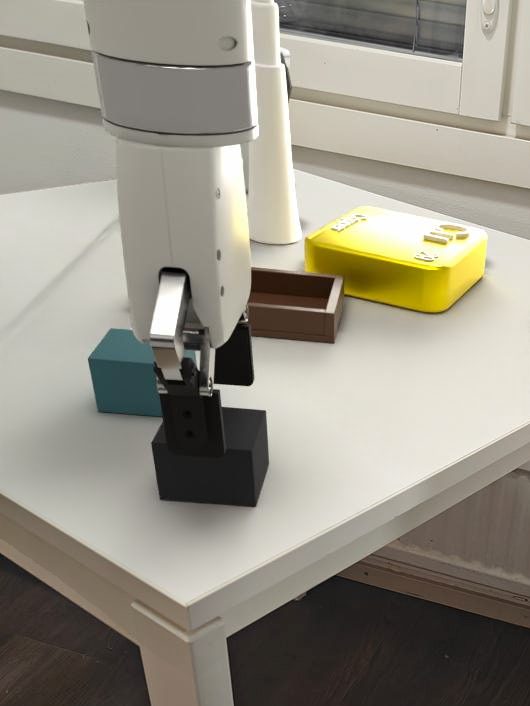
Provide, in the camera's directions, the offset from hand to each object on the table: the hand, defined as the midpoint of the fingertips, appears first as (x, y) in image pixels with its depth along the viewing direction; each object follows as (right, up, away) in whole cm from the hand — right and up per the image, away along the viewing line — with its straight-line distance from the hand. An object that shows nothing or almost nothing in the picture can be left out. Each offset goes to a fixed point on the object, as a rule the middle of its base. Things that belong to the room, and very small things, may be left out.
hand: (214, 416), depth 55 cm
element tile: (+8, +23, +36) cm, 44 cm away
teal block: (-8, +4, +11) cm, 14 cm away
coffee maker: (-11, +43, +57) cm, 72 cm away
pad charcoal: (-1, -4, +3) cm, 5 cm away
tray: (-5, +15, +25) cm, 30 cm away
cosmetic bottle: (-6, +30, +43) cm, 53 cm away
